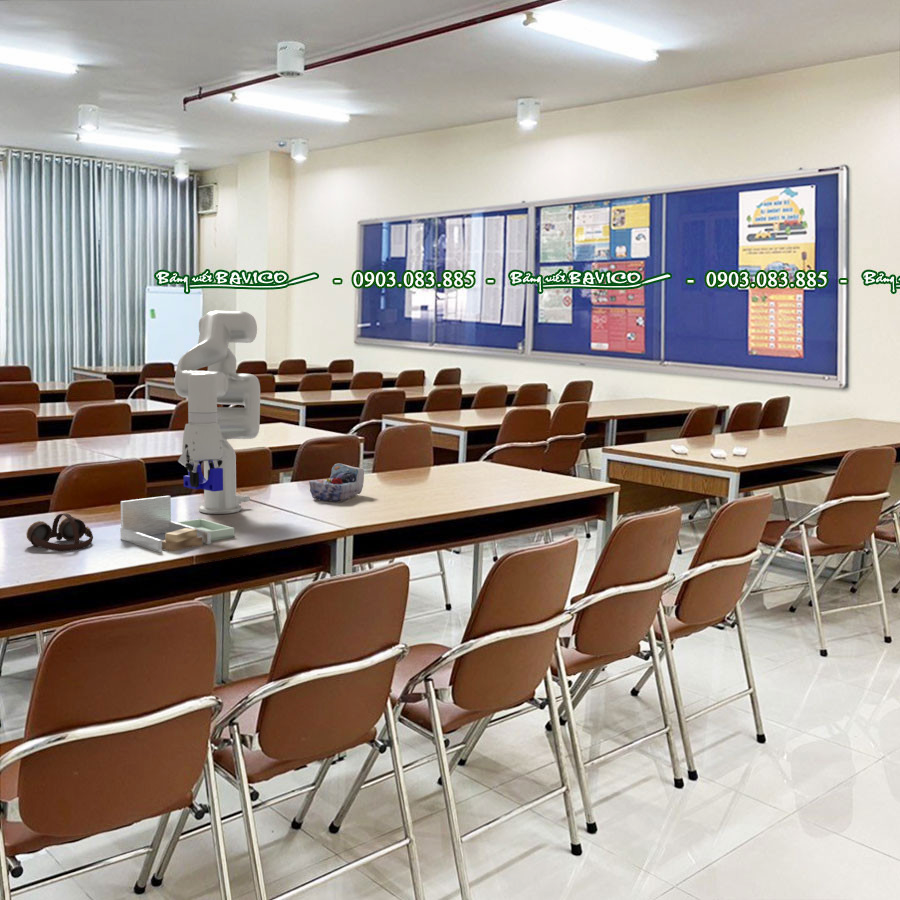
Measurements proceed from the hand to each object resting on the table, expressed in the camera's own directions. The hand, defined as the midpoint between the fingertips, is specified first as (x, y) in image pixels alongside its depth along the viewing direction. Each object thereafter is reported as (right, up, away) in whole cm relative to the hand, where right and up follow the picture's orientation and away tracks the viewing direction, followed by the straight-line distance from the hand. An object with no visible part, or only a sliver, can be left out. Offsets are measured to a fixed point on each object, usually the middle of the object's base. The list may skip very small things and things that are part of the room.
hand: (203, 485), depth 277 cm
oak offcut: (-2, -13, -14) cm, 19 cm away
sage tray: (0, -13, +2) cm, 14 cm away
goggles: (-32, -15, -15) cm, 39 cm away
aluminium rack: (-8, -15, -8) cm, 18 cm away
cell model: (+29, -7, +61) cm, 68 cm away
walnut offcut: (-3, -16, -13) cm, 21 cm away
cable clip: (0, -1, 0) cm, 1 cm away
